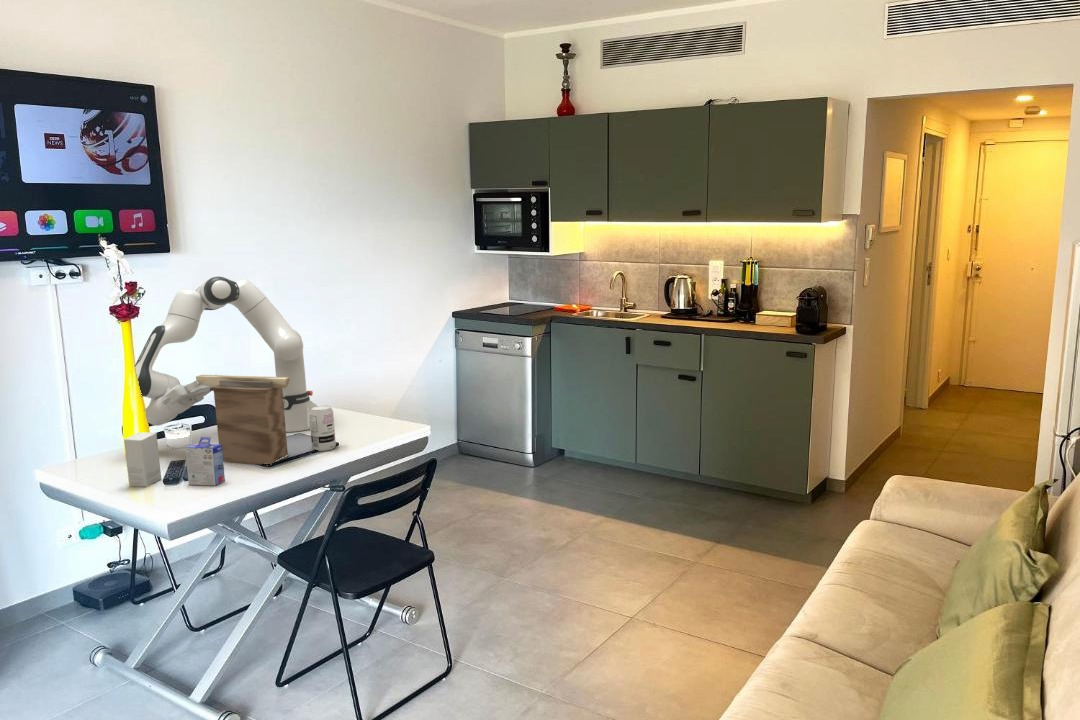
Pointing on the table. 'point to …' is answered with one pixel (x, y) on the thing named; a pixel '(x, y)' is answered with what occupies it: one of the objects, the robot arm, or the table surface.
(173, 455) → the table surface
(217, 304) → the robot arm
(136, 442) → the skincare box
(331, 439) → the supplement can
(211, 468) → the ink cartridge box
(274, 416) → the tall wooden crate
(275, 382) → the wooden bar
